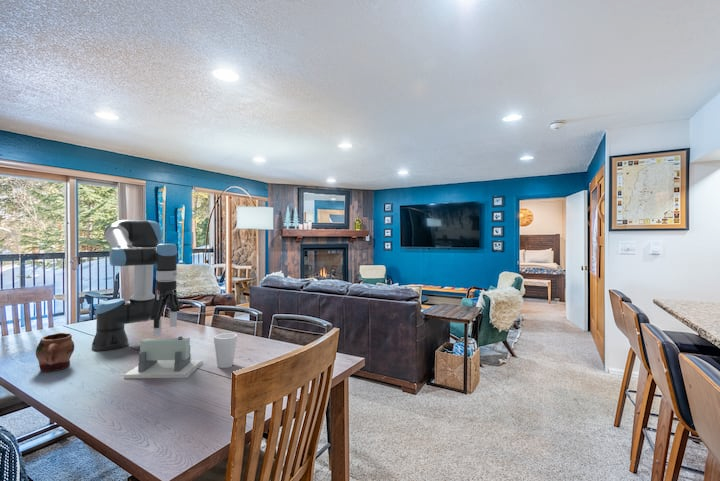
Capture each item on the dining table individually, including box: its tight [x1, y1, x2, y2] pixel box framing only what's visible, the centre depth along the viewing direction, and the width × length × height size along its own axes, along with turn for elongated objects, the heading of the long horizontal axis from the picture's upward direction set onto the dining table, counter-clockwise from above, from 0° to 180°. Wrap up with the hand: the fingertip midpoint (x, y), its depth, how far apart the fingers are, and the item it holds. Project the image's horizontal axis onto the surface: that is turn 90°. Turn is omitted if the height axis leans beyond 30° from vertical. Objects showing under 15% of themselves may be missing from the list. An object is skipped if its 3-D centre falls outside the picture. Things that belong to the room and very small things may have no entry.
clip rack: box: [123, 351, 203, 379], centre depth 147 cm, size 16×24×9 cm, turn 94°
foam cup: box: [213, 332, 238, 369], centre depth 153 cm, size 10×9×13 cm
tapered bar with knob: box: [139, 336, 191, 361], centre depth 146 cm, size 4×18×9 cm, turn 95°
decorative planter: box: [35, 332, 75, 373], centre depth 146 cm, size 20×12×14 cm, turn 36°
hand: (165, 331), depth 147 cm, fingers open, 13 cm apart
